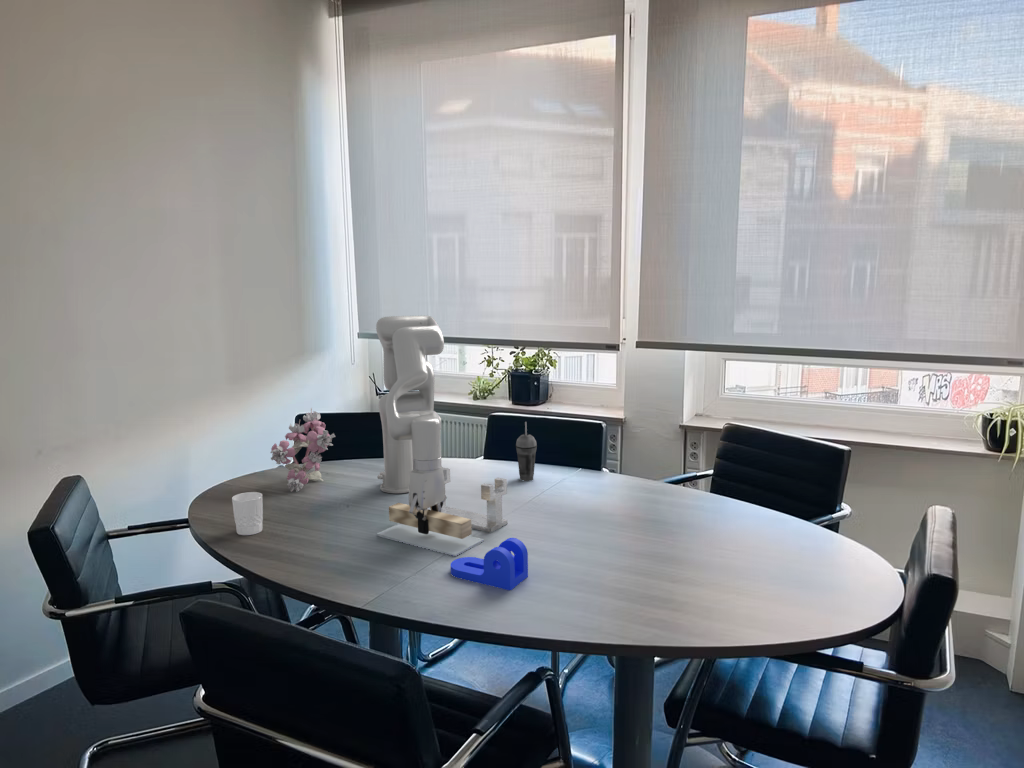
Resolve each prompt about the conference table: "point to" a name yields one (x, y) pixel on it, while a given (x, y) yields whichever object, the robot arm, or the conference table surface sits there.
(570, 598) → the conference table surface
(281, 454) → the flower
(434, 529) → the rail
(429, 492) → the robot arm
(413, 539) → the mat
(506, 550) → the bracket
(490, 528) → the rail stand
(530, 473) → the beverage cup
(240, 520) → the white cup
